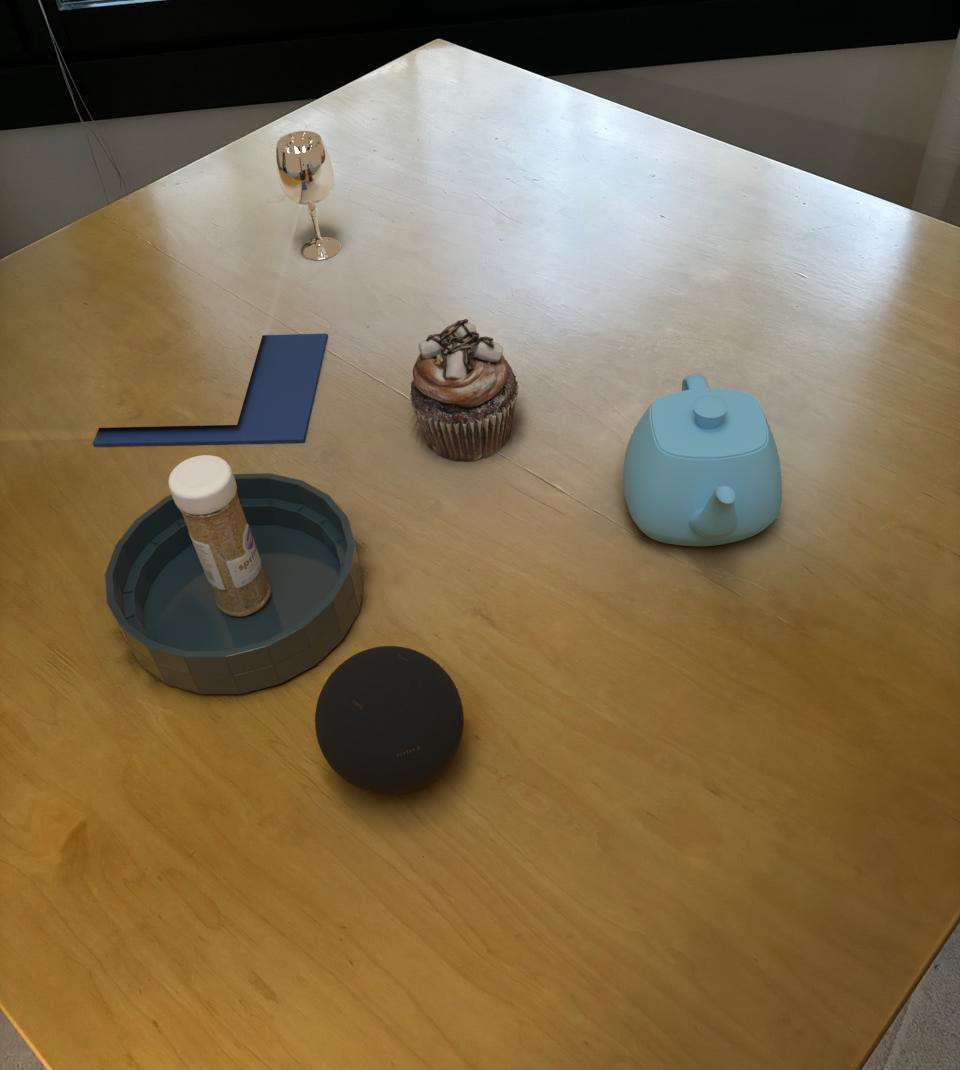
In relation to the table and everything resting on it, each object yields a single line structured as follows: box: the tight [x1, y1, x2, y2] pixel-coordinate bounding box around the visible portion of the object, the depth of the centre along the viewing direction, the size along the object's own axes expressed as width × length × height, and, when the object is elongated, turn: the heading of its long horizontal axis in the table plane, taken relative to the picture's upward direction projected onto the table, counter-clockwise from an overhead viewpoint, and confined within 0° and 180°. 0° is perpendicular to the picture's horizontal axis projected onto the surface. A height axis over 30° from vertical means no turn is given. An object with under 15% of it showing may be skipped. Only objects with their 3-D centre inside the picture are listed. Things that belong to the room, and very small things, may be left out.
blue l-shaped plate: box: [92, 332, 329, 448], centre depth 104 cm, size 20×16×1 cm
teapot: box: [622, 373, 783, 547], centre depth 85 cm, size 13×11×18 cm
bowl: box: [104, 472, 365, 695], centre depth 85 cm, size 19×19×5 cm
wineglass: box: [275, 130, 342, 261], centre depth 114 cm, size 6×6×12 cm
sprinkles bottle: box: [167, 454, 271, 617], centre depth 81 cm, size 5×5×13 cm
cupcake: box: [409, 318, 520, 462], centre depth 94 cm, size 10×10×10 cm
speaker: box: [314, 645, 465, 796], centre depth 73 cm, size 10×10×10 cm
